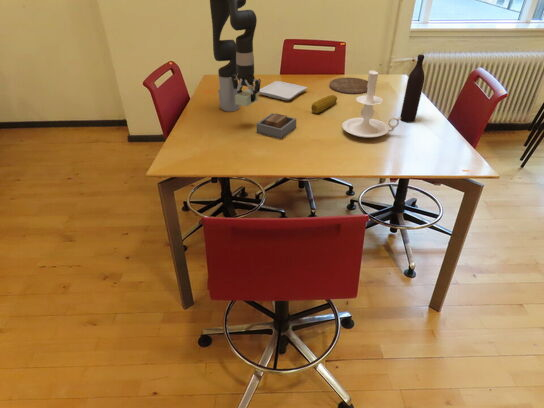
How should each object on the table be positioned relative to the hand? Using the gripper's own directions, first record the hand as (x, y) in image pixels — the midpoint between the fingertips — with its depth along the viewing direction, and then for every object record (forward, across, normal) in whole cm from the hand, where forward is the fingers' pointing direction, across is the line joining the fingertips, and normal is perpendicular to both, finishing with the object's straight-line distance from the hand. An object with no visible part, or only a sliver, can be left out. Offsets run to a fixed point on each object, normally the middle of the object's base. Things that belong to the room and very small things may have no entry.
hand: (246, 99), depth 172 cm
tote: (+12, +14, +2) cm, 19 cm away
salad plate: (+14, -6, +46) cm, 48 cm away
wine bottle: (+13, +64, +44) cm, 78 cm away
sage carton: (+1, 0, 0) cm, 1 cm away
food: (+13, +23, +38) cm, 46 cm away
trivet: (+14, +23, +75) cm, 80 cm away
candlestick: (+12, +52, +20) cm, 57 cm away
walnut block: (+11, +14, +2) cm, 18 cm away
